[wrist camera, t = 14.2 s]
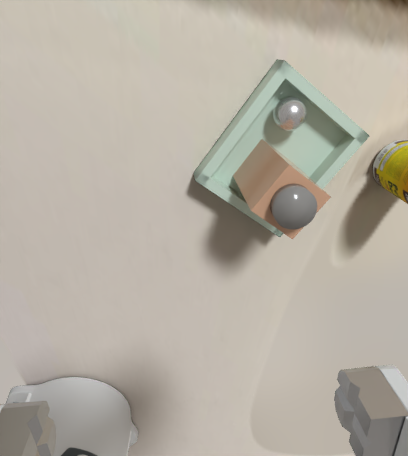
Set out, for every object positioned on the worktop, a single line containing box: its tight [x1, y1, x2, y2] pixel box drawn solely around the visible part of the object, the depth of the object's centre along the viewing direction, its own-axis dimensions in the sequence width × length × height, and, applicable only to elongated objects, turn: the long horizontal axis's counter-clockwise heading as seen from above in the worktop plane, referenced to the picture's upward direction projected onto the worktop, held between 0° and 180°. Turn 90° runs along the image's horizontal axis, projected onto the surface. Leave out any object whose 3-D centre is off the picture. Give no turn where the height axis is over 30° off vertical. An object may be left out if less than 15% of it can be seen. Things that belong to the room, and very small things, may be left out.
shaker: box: [233, 139, 330, 239], centre depth 33 cm, size 5×5×10 cm
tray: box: [194, 60, 369, 237], centre depth 36 cm, size 13×11×2 cm
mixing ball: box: [273, 97, 307, 131], centre depth 34 cm, size 3×3×3 cm
